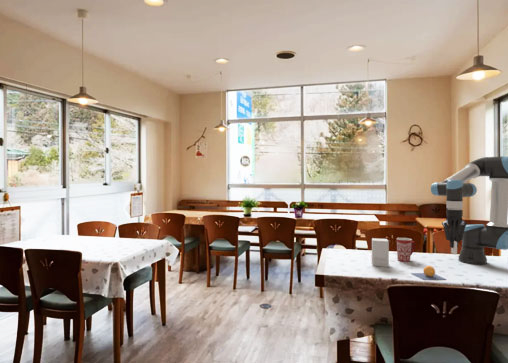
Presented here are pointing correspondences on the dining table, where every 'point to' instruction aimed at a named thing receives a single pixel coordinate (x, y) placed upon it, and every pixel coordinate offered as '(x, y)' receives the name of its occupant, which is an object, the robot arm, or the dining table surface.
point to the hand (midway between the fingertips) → (454, 253)
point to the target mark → (424, 277)
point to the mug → (404, 249)
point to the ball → (429, 271)
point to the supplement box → (380, 252)
